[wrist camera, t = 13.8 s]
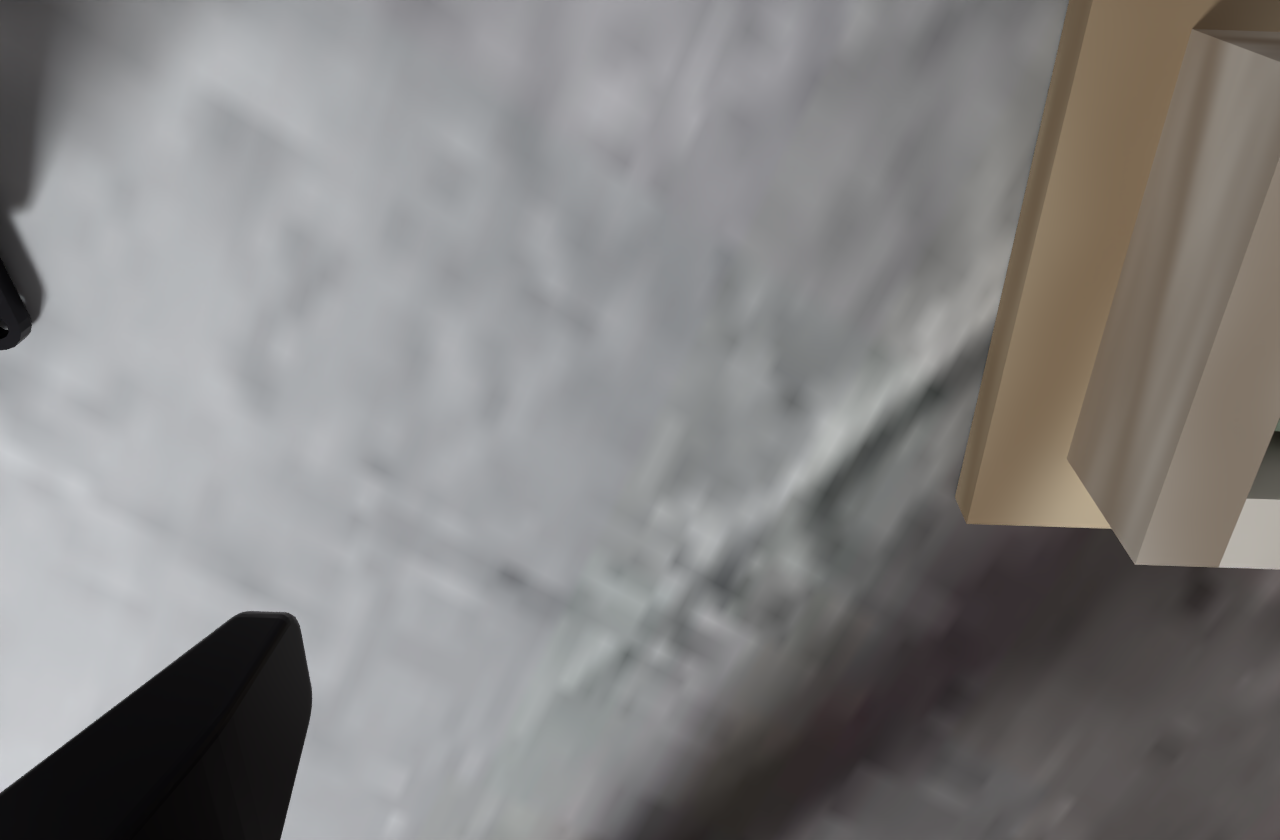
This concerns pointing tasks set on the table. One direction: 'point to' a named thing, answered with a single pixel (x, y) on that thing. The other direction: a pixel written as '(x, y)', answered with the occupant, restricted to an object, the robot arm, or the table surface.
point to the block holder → (1145, 293)
